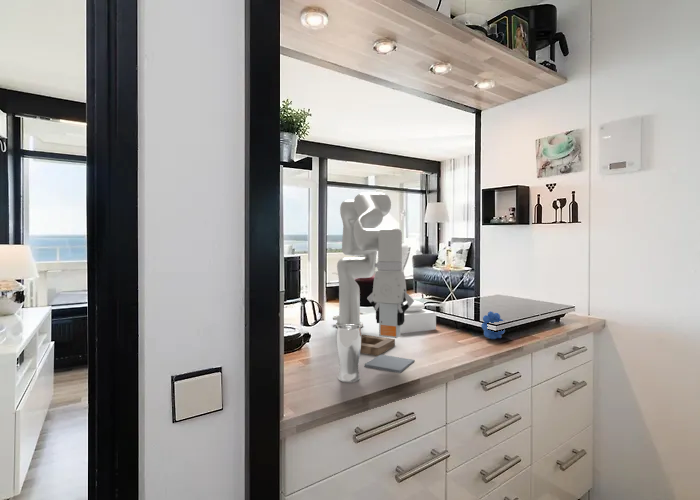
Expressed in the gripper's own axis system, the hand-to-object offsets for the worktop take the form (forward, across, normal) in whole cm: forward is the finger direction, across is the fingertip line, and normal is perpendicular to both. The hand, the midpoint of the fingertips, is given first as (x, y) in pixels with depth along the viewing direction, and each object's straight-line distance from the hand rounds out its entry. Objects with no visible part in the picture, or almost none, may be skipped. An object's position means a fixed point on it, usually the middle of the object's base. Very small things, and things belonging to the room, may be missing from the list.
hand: (389, 323), depth 117 cm
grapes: (+14, +24, +47) cm, 54 cm away
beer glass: (+14, -5, -17) cm, 22 cm away
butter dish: (+14, -14, +50) cm, 53 cm away
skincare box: (+4, 0, 0) cm, 4 cm away
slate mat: (+13, 0, 0) cm, 13 cm away
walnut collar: (+13, -14, +13) cm, 23 cm away
